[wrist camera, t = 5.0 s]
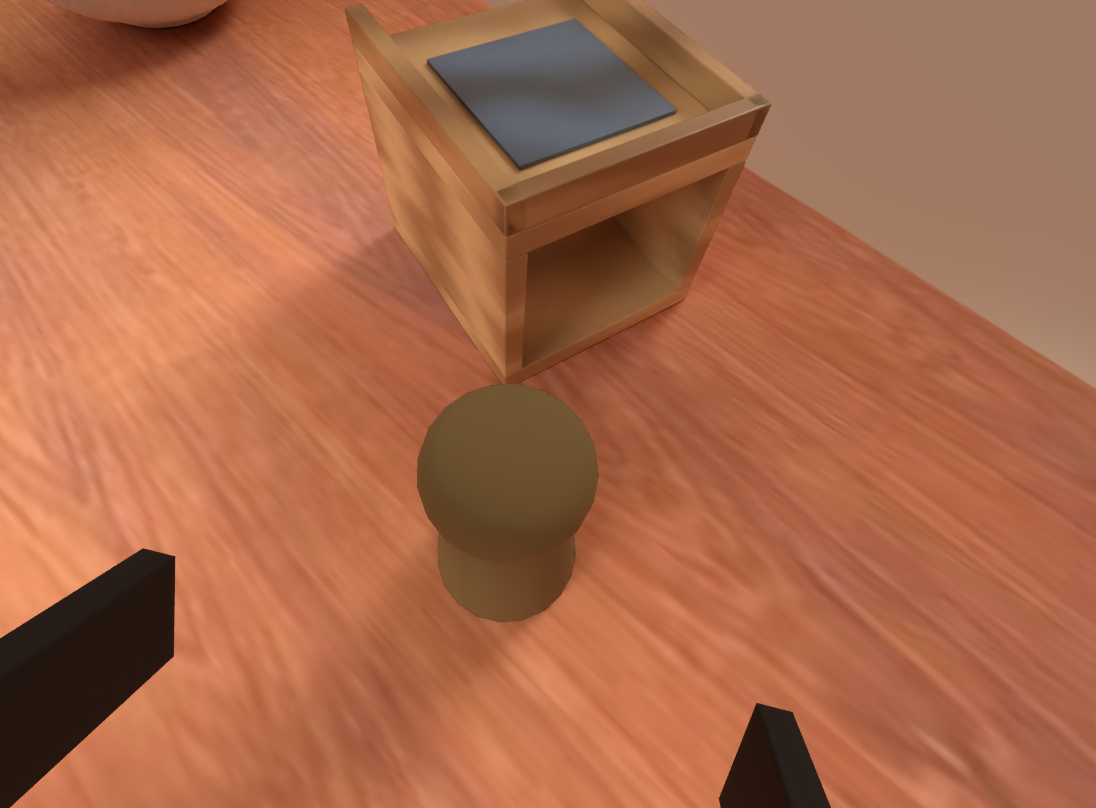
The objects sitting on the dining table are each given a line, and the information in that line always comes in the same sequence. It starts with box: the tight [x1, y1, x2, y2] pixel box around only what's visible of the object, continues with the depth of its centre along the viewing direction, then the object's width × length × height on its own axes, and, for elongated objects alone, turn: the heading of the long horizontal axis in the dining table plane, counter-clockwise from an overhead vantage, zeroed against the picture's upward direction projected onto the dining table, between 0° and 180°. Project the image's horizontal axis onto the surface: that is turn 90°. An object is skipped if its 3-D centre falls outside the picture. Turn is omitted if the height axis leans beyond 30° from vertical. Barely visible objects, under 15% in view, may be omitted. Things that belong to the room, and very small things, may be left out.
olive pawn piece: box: [417, 384, 599, 622], centre depth 19 cm, size 6×6×11 cm
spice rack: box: [345, 0, 771, 385], centre depth 27 cm, size 13×12×12 cm
